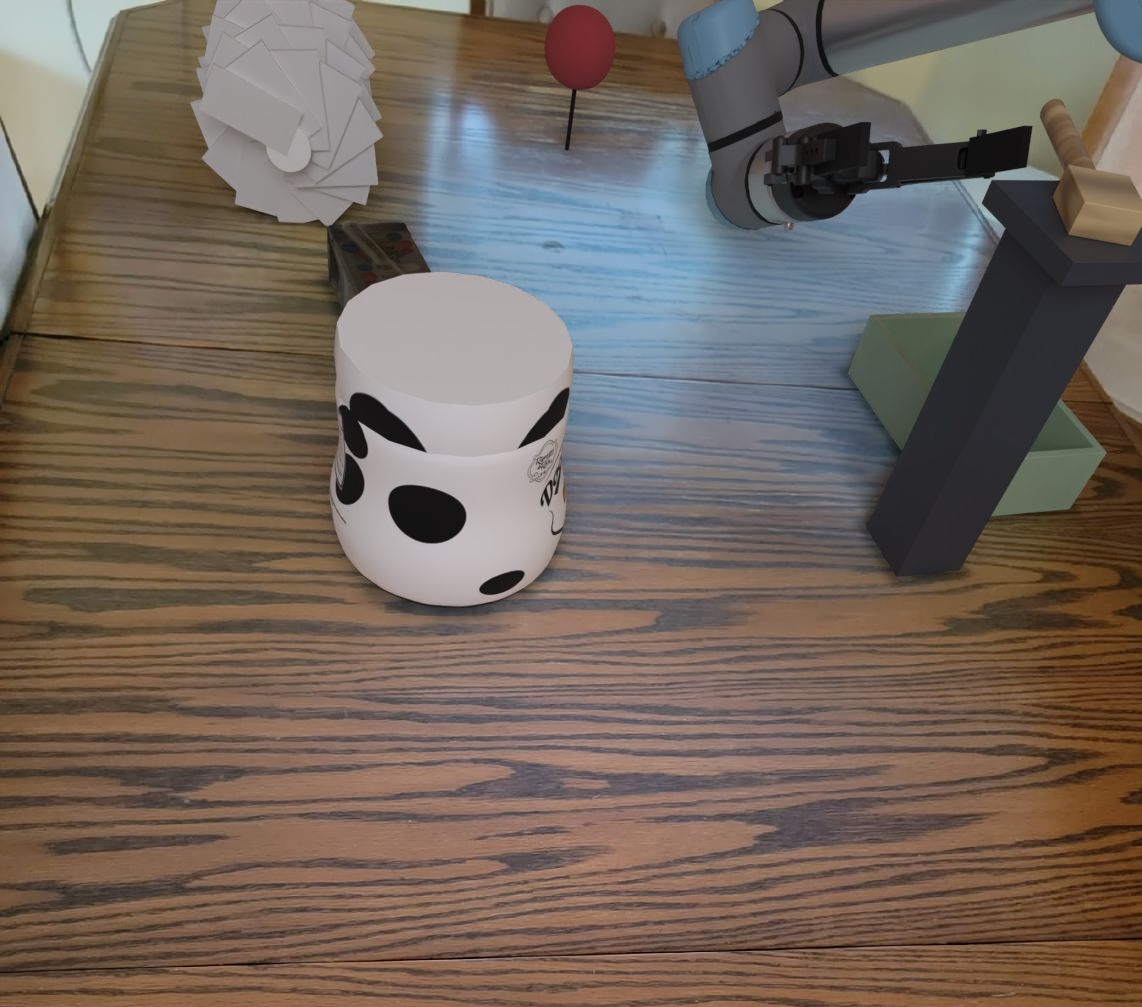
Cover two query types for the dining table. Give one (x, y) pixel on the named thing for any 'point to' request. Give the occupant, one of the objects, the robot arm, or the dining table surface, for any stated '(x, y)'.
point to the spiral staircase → (289, 106)
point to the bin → (904, 379)
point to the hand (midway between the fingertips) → (947, 145)
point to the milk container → (450, 437)
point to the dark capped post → (999, 378)
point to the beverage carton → (369, 256)
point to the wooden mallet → (1089, 186)
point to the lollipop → (579, 51)
